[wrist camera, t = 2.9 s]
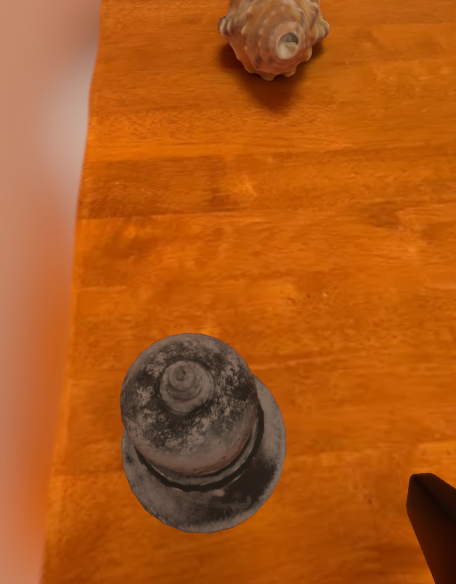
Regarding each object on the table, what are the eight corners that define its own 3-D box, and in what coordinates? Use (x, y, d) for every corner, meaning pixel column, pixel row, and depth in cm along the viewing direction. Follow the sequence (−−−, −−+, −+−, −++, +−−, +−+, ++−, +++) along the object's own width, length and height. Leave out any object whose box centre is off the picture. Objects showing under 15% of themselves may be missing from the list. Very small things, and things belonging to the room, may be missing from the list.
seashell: (335, 105, 32) (377, 27, 22) (239, 132, 32) (237, 69, 22) (307, -8, 32) (336, -138, 22) (210, 21, 32) (195, -93, 22)
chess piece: (159, 371, 19) (72, 209, 8) (282, 392, 18) (363, 252, 8) (123, 509, 16) (-77, 543, 5) (265, 539, 16) (353, 638, 5)
